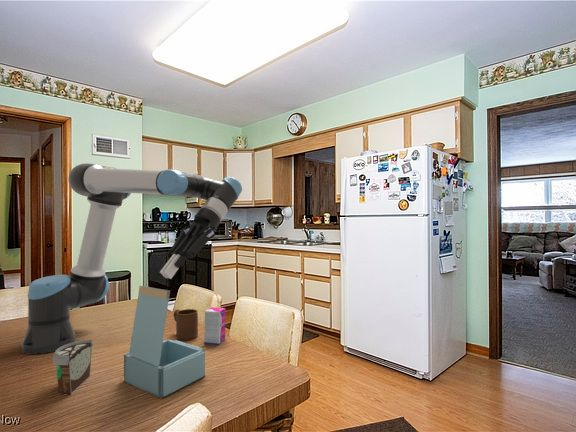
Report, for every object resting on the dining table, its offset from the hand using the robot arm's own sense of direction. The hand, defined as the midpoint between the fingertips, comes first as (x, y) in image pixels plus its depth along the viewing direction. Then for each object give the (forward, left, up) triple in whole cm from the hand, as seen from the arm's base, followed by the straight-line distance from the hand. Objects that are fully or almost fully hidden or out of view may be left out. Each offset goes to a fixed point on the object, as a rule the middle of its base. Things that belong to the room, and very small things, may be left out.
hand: (165, 275), depth 91 cm
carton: (0, 0, -28) cm, 28 cm away
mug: (-32, +10, -28) cm, 44 cm away
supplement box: (-21, +19, -28) cm, 40 cm away
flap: (+4, -6, -21) cm, 22 cm away
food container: (-7, -23, -28) cm, 37 cm away
